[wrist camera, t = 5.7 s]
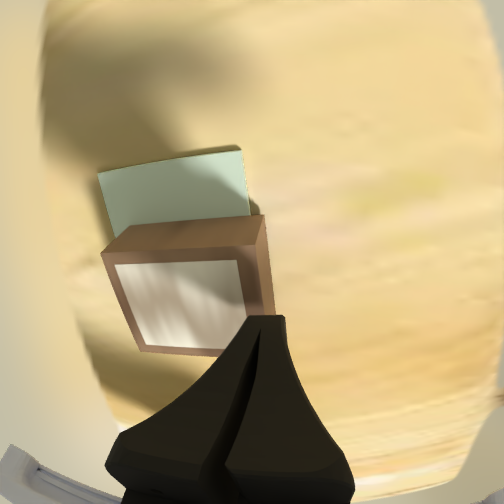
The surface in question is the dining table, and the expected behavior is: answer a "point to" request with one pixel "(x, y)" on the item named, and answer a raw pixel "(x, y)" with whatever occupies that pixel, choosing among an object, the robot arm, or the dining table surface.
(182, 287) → the walnut frame
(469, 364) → the dining table surface
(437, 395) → the dining table surface
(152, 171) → the sage mat
